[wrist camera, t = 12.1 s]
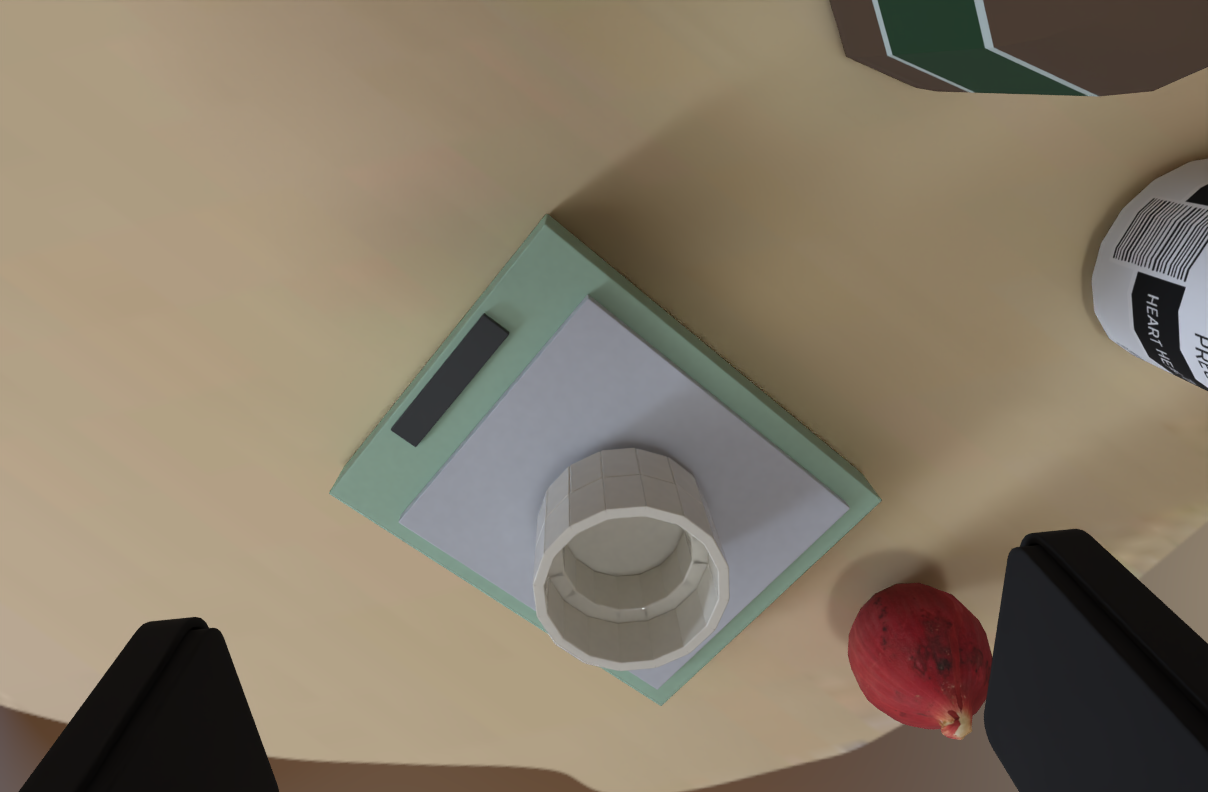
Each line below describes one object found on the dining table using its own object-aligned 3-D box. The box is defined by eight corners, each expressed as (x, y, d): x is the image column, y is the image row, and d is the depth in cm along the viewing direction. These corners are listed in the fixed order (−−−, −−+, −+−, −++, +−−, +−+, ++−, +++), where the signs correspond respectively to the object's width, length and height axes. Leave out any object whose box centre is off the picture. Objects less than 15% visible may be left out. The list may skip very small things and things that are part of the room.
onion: (829, 554, 36) (896, 676, 29) (951, 545, 37) (1049, 663, 29) (824, 654, 39) (885, 790, 31) (939, 644, 39) (1027, 778, 31)
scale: (344, 466, 34) (323, 501, 31) (546, 213, 30) (544, 226, 27) (655, 670, 39) (662, 716, 36) (862, 473, 35) (888, 508, 32)
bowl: (504, 528, 32) (494, 604, 27) (614, 409, 30) (623, 470, 25) (630, 614, 34) (640, 700, 29) (740, 507, 32) (769, 580, 27)
